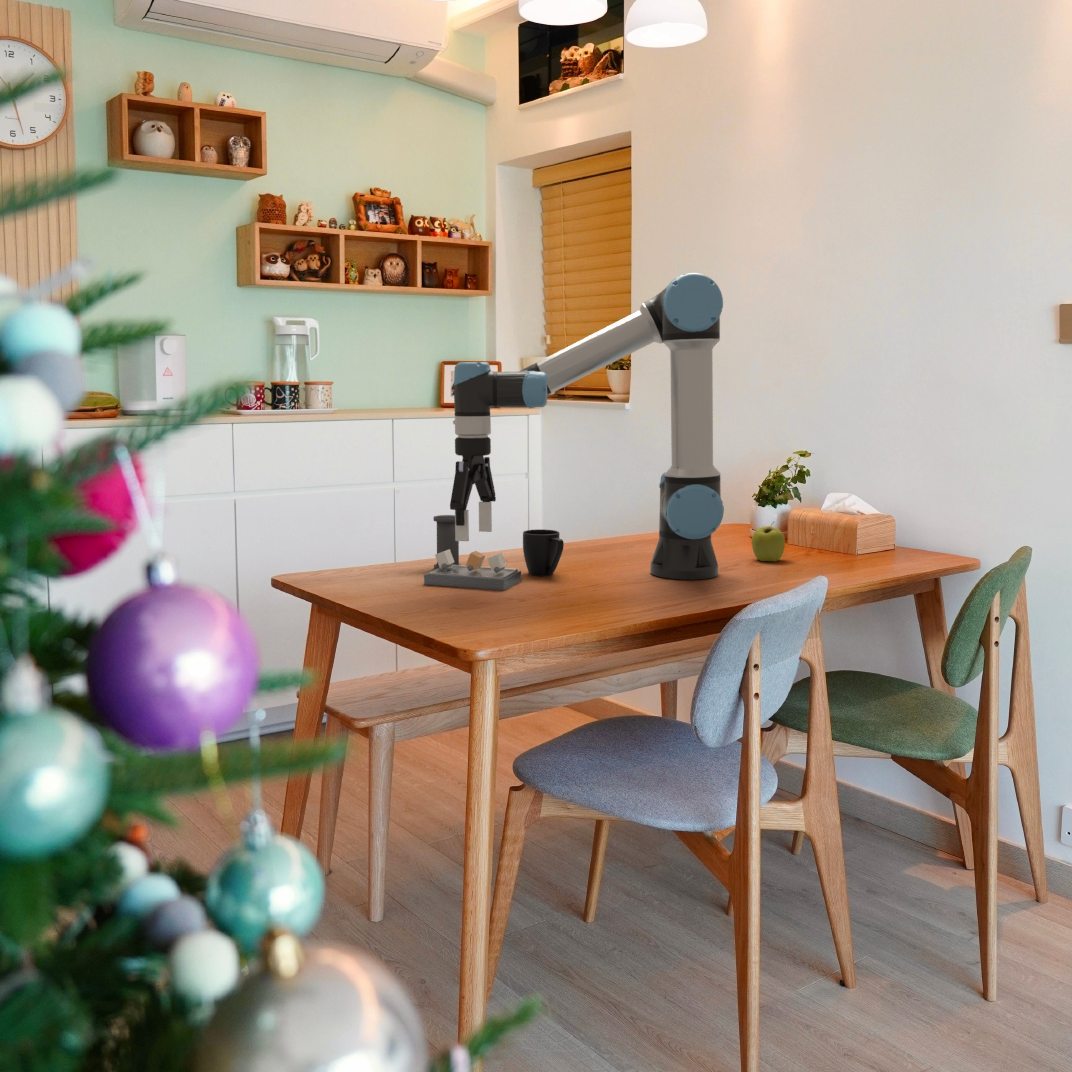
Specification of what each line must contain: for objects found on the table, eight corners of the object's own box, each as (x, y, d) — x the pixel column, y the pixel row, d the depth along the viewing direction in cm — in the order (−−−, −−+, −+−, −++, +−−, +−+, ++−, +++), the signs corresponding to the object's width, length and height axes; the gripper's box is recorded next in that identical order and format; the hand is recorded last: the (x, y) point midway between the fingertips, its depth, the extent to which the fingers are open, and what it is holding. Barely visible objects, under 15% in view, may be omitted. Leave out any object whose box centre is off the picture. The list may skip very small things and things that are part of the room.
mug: (544, 581, 231) (544, 538, 229) (515, 572, 241) (516, 530, 239) (575, 578, 235) (576, 535, 233) (546, 569, 245) (546, 528, 244)
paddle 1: (456, 564, 231) (450, 548, 231) (449, 567, 228) (443, 551, 228) (446, 567, 232) (440, 552, 232) (440, 570, 229) (434, 555, 229)
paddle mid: (480, 570, 230) (485, 555, 229) (473, 573, 226) (479, 558, 226) (470, 565, 230) (476, 550, 229) (464, 568, 227) (469, 553, 226)
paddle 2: (508, 567, 228) (502, 552, 228) (502, 570, 224) (496, 554, 224) (498, 571, 229) (492, 555, 228) (492, 574, 225) (486, 558, 225)
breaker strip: (521, 580, 231) (521, 568, 231) (503, 590, 221) (503, 577, 220) (444, 575, 237) (444, 563, 236) (424, 584, 226) (424, 571, 226)
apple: (764, 551, 264) (774, 515, 260) (786, 566, 258) (796, 528, 254) (740, 554, 260) (750, 517, 256) (762, 569, 254) (772, 531, 250)
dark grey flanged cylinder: (466, 567, 247) (465, 515, 245) (455, 571, 241) (455, 519, 239) (440, 565, 249) (440, 514, 247) (429, 570, 243) (429, 518, 241)
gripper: (477, 432, 237) (478, 527, 240) (432, 439, 213) (434, 544, 217) (509, 433, 235) (510, 528, 238) (467, 440, 211) (468, 546, 214)
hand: (474, 536), depth 227 cm, fingers open, 13 cm apart
